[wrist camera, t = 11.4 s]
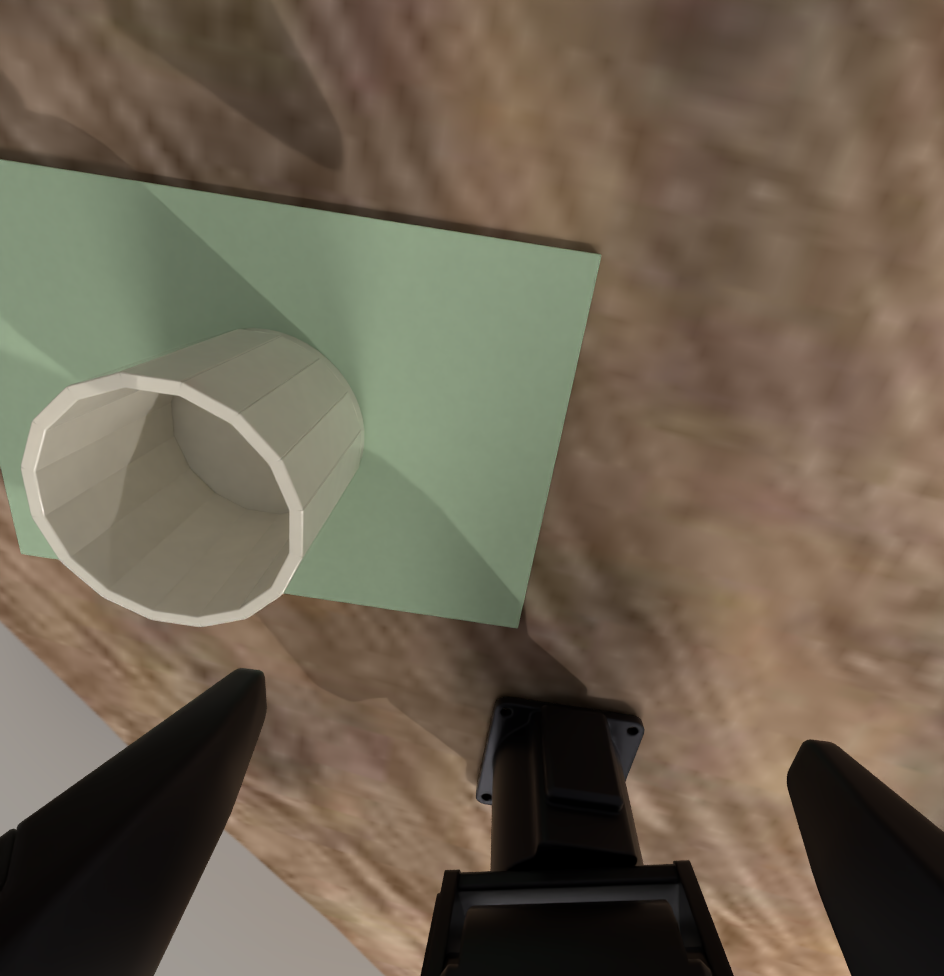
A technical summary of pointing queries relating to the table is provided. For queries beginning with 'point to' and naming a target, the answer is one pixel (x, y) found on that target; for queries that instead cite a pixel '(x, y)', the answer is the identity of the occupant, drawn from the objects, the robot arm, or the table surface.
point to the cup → (195, 473)
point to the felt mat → (335, 334)
